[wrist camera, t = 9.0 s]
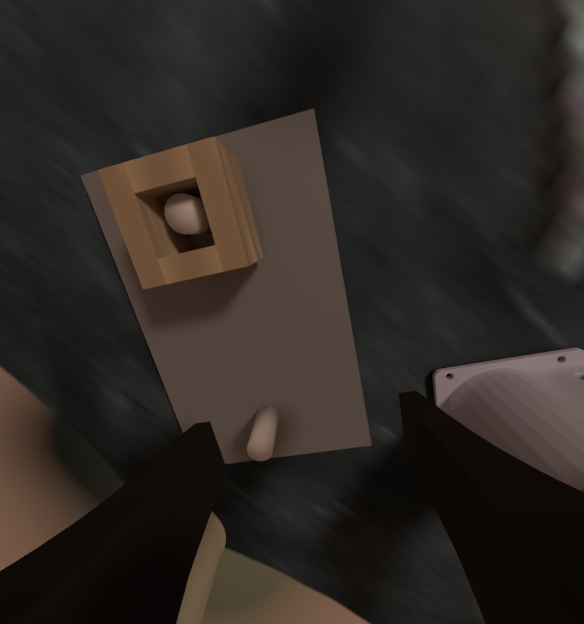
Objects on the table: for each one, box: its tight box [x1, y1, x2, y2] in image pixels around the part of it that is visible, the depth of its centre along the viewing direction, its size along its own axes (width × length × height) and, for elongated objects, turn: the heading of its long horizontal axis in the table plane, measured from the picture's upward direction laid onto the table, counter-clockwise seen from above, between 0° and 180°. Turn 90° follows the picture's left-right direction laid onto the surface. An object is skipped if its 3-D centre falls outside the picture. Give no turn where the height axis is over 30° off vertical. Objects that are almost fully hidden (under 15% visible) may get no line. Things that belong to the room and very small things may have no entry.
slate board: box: [81, 108, 372, 464], centre depth 17 cm, size 14×22×5 cm, turn 13°
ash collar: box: [98, 137, 263, 289], centre depth 14 cm, size 5×5×4 cm
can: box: [176, 511, 226, 624], centre depth 20 cm, size 9×9×12 cm
